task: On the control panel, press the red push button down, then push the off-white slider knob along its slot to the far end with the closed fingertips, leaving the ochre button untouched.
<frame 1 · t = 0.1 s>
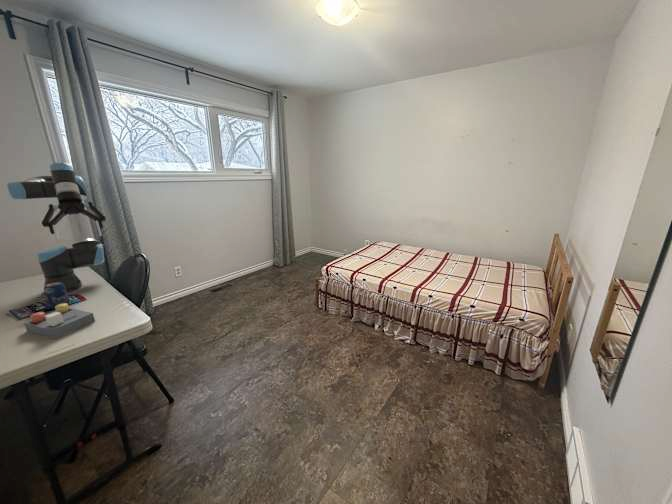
hand: (80, 237, 115), 36 cm above the table, tool tilted 35°, fingers open, 13 cm apart
panel: (62, 326, 114), on the table
button ochre: (62, 308, 118), point 5 cm above the table, slide at 0.0 cm
button red: (38, 317, 110), point 5 cm above the table, slide at 0.0 cm
slider: (54, 319, 108), point 6 cm above the table, slide at 0.0 cm
soda can: (61, 306, 131), on the table
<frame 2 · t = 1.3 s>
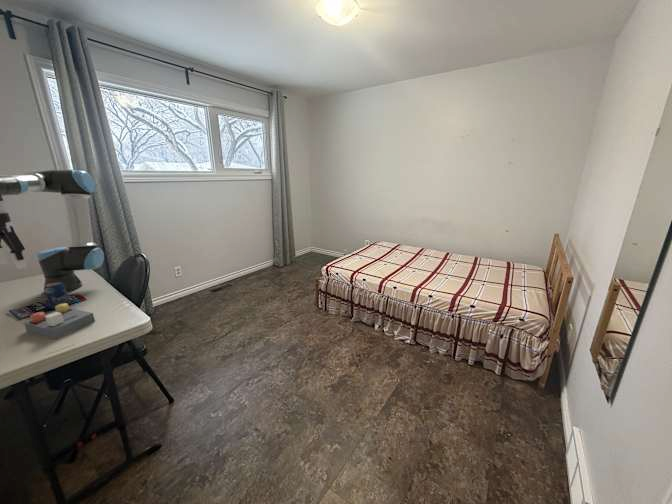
hand: (12, 266, 108), 27 cm above the table, tool pointing down, fingers open, 12 cm apart
nothing on the table moved.
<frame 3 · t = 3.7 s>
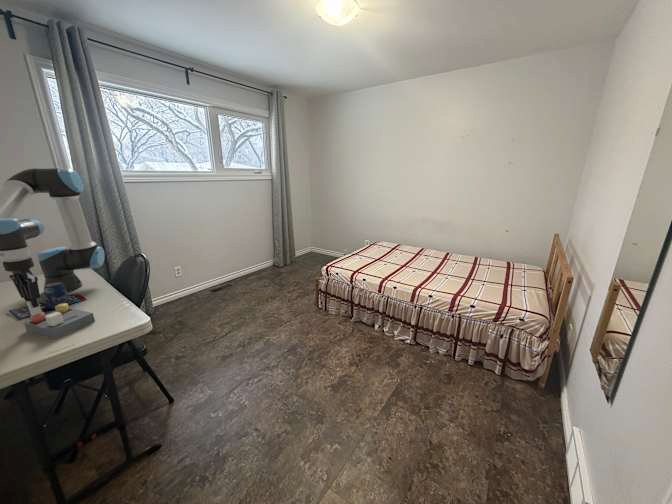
hand: (36, 313, 110), 7 cm above the table, tool pointing down, fingers closed
button red: (38, 317, 110), point 5 cm above the table, slide at 0.0 cm, touching gripper
everything else where it was.
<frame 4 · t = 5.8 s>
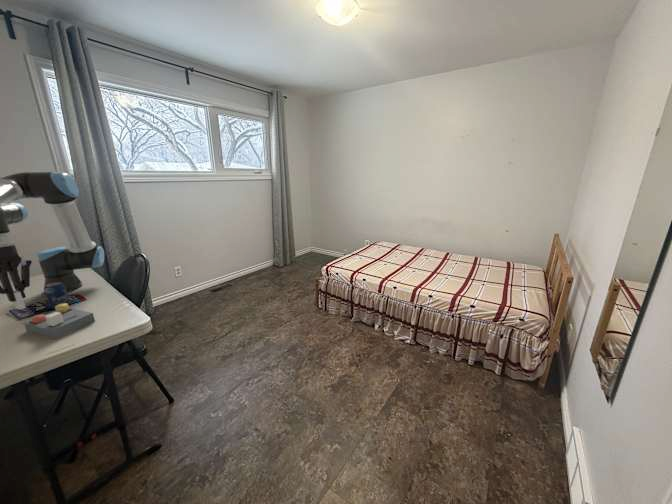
hand: (21, 307, 98), 15 cm above the table, tool pointing down, fingers closed
button red: (39, 319, 111), point 4 cm above the table, slide at 1.2 cm
everything else where it was.
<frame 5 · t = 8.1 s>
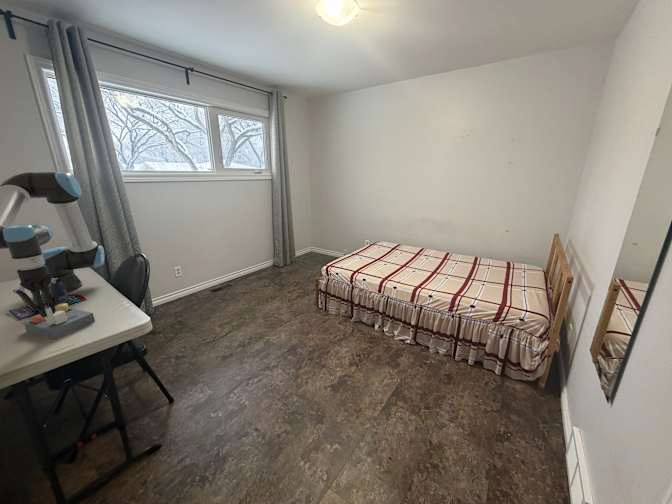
hand: (51, 322, 107), 5 cm above the table, tool pointing down, fingers closed
slider: (58, 317, 109), point 6 cm above the table, slide at 1.2 cm, touching gripper
everything else where it was.
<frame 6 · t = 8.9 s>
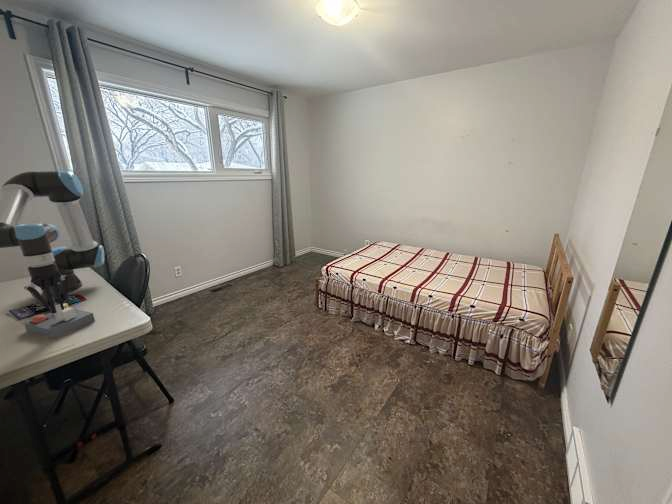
hand: (60, 318, 109), 6 cm above the table, tool pointing down, fingers closed
slider: (67, 314, 111), point 6 cm above the table, slide at 4.1 cm, touching gripper
everything else where it was.
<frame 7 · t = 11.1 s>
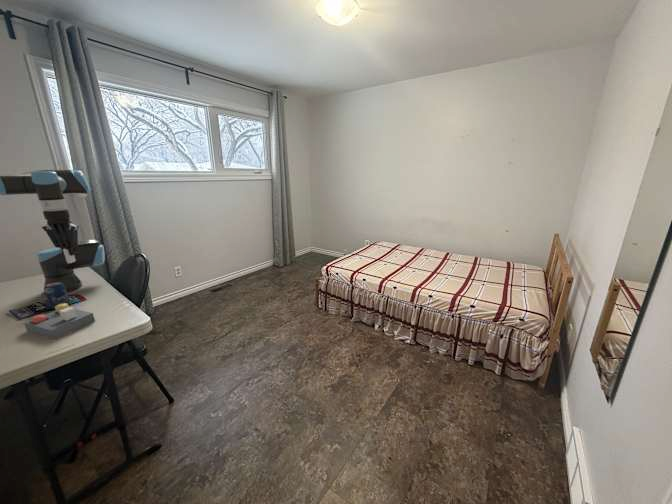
hand: (71, 262, 120), 24 cm above the table, tool pointing down, fingers closed
slider: (68, 313, 112), point 6 cm above the table, slide at 4.4 cm
everything else where it was.
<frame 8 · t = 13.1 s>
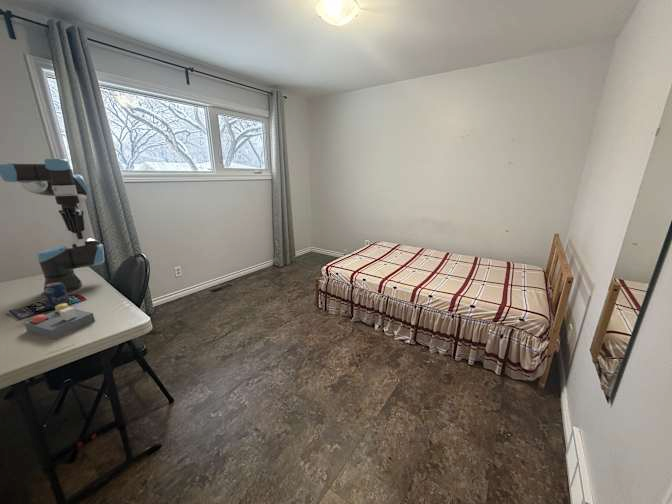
hand: (80, 245, 127), 29 cm above the table, tool pointing down, fingers closed
nothing on the table moved.
at the end: button red slide at 1.2 cm; slider slide at 4.4 cm; button ochre slide at 0.0 cm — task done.
